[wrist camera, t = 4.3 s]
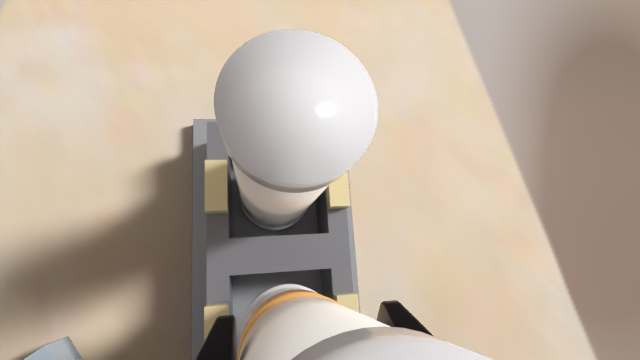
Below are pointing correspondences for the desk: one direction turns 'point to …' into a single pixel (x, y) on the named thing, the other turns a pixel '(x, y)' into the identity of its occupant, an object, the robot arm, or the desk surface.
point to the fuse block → (260, 243)
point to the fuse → (292, 121)
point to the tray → (56, 351)
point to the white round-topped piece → (330, 332)
